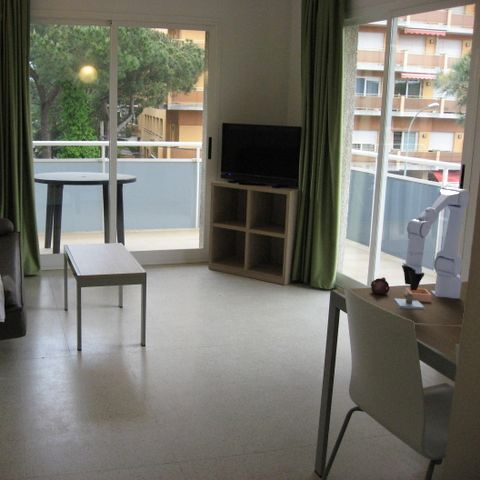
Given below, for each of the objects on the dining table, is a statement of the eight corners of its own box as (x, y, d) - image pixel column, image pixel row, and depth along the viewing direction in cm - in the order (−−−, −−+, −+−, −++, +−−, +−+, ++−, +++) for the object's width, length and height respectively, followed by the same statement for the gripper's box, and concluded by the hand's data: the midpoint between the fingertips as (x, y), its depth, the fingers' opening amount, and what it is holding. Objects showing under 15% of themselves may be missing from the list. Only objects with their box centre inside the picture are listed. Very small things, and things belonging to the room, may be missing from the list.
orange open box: (424, 297, 271) (425, 288, 271) (430, 303, 264) (431, 294, 263) (404, 296, 271) (405, 287, 270) (410, 302, 263) (411, 293, 263)
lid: (417, 301, 263) (418, 290, 262) (423, 309, 254) (425, 298, 253) (393, 300, 262) (395, 289, 261) (399, 307, 254) (401, 296, 253)
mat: (417, 302, 263) (417, 301, 263) (425, 311, 254) (425, 309, 254) (392, 301, 263) (392, 299, 263) (398, 309, 253) (398, 308, 253)
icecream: (390, 285, 261) (394, 279, 276) (372, 278, 263) (376, 272, 277) (383, 302, 263) (387, 295, 277) (365, 294, 265) (370, 287, 279)
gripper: (399, 246, 261) (395, 281, 264) (409, 256, 246) (405, 292, 249) (417, 247, 261) (413, 282, 264) (429, 257, 247) (424, 293, 250)
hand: (410, 287), depth 257 cm, fingers open, 7 cm apart
